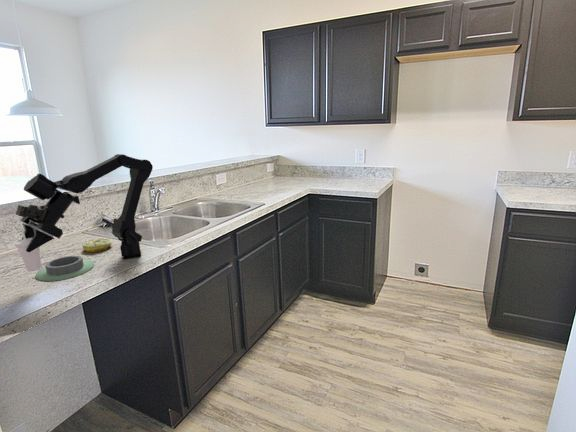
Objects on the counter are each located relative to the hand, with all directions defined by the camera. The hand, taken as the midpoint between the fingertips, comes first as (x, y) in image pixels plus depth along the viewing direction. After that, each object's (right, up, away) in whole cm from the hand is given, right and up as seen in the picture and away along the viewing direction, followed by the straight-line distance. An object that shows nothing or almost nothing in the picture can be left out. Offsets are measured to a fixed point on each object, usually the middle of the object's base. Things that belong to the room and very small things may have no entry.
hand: (23, 249), depth 106 cm
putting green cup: (+2, -9, +17) cm, 19 cm away
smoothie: (+1, -7, +3) cm, 7 cm away
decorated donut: (+1, -4, +39) cm, 39 cm away
